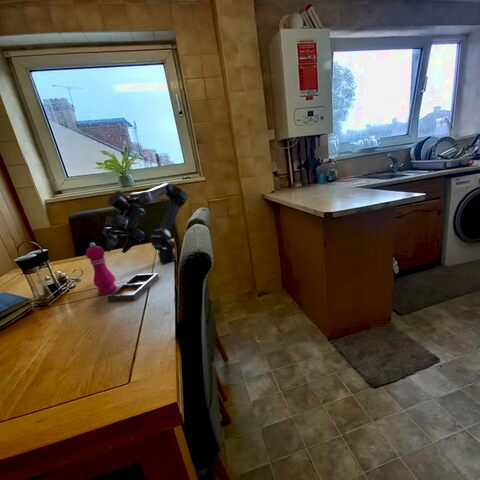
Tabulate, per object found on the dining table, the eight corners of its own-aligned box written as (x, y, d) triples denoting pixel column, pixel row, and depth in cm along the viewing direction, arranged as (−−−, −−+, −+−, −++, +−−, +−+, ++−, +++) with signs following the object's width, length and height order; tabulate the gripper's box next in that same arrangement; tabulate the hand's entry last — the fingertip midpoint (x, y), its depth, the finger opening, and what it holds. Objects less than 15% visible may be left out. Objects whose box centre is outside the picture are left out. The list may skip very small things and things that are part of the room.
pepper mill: (122, 287, 111) (106, 239, 104) (107, 295, 105) (90, 245, 98) (108, 286, 114) (92, 239, 107) (93, 294, 107) (75, 245, 100)
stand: (158, 277, 117) (157, 273, 116) (134, 300, 99) (133, 294, 98) (136, 279, 118) (134, 274, 117) (108, 301, 100) (106, 296, 99)
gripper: (99, 208, 114) (82, 242, 108) (130, 207, 105) (114, 243, 100) (121, 222, 123) (106, 254, 118) (151, 222, 115) (137, 256, 109)
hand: (115, 252), depth 111 cm, fingers open, 9 cm apart
